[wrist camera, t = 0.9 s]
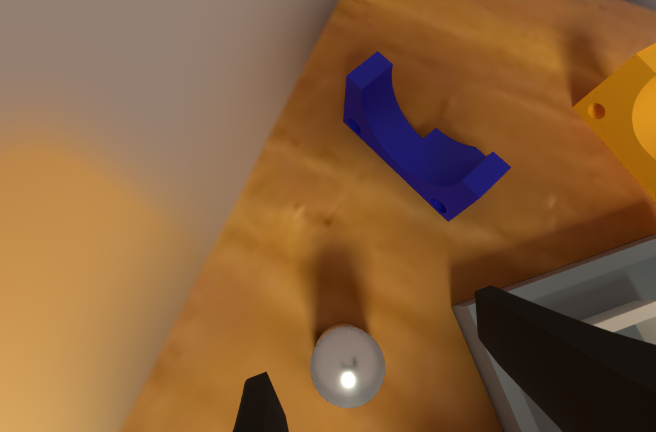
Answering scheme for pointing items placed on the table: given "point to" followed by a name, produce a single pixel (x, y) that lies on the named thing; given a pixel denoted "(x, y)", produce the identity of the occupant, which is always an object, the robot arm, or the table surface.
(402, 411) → the table surface
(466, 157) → the blue cradle block
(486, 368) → the walled tray
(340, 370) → the metal peg
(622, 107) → the pipe clamp
